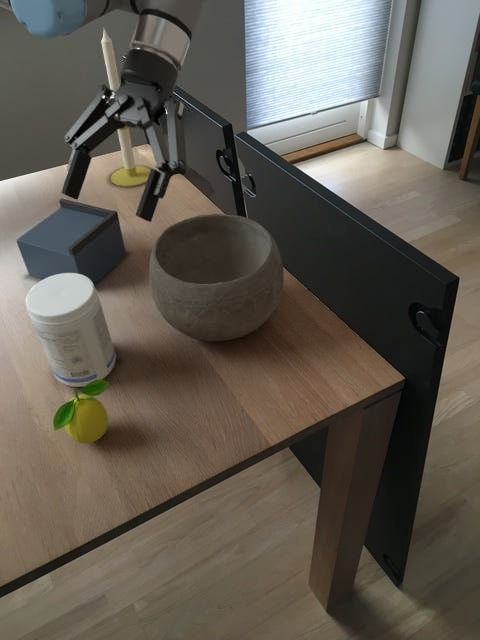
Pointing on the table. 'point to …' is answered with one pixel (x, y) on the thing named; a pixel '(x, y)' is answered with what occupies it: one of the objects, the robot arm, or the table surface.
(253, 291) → the bowl
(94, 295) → the supplement tub
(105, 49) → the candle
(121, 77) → the robot arm
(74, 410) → the lemon
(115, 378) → the table surface
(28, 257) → the blue storage bin
